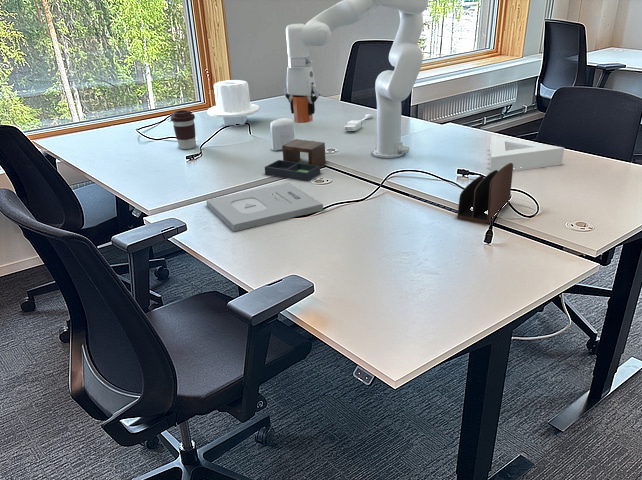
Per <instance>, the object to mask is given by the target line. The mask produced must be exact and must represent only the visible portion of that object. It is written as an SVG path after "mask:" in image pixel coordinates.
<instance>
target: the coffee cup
mask: <svg viewBox="0 0 642 480" xmlns="http://www.w3.org/2000/svg"><path fill="white" fill-rule="evenodd" d="M195 119H196V115H195V114H194V113H192V112H191V111H190V110H188V109H181V110H176V111H174V112H173V114H172V115H170V121H171V122H172V127H173V130H174V131H173V132H174V135H175V138H176V140H177V145H178V148H179V149H180V150H191V149H194V148H196V147H197V142H196V138H197V137H196V135H197V134H196V123H195Z"/></svg>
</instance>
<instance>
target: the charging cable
mask: <svg viewBox="0 0 642 480" xmlns="http://www.w3.org/2000/svg"><path fill="white" fill-rule="evenodd" d="M371 118H372V114H371V113H366V114H365V115H364V117H363V118H362V119H360V120H359V119H357V120H355V119H351V120H349V121H347V123H346V125H344V126H343V130H344V131H346V132H347V131H348V132H357V131H358V130H360V129H361V128H362V122H363V121H365V120H370V119H371Z"/></svg>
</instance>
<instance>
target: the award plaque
mask: <svg viewBox="0 0 642 480" xmlns="http://www.w3.org/2000/svg"><path fill="white" fill-rule="evenodd" d="M271 194H274V195H271ZM205 201H206V202H205V203H206V207H207V208H208V209H209V210H210V211H211V212H212V213H214V214H215V215H216V216H217V217H218V218H219V219H220V220H221V221H222V222H223V223H224V224H225V225H227V227H229V228H230V229H231V230H232V231H233V232H238V231H242V230H247V229H250V228H256V227H258V226H263V225H267V224H272V223H276V222H279V221H280V222H281V221H284V220H288V219H292V218H296V217H300V216H305V215H309V214H313V213H314V214H315V213H318V212H322V211H324V203H322V202H321V201H319V200H317V199H315V198H314V197H313V196H311V195H309V194H308V193H306V192H305V191H303V190H302V189H300V188H298V187H297V186H295V185H293V184H292V183H291V182H284V183H280V184H275V185H271V186H266V187H261V188H257V189H252V190H247V191H246V190H245V191H242V192H238V193H233V194H227V195H224V196H219V197H214V198H209V199H206V200H205Z"/></svg>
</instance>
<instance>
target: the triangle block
mask: <svg viewBox="0 0 642 480" xmlns="http://www.w3.org/2000/svg"><path fill="white" fill-rule="evenodd" d="M564 153H565V147H563V146H558V145H551V144H546V143H540V142H535V141H529V140H523V139H518V138H517V139H516V138H511V137H506V136H500V135H494V134H491V137H490V145H489V174H490V173H491V172H493V171H495V170H498V171H499V170H500V169H502V168H503V167H504V166H506V165H507V164H509V163H512V164H513V168H515V169H513V172H519V171H525V170H533V169H541V168H546V167H547V168H548V167H554V166H555V167H556V166H561V165H563V159H564ZM520 167H522V168H520Z"/></svg>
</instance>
